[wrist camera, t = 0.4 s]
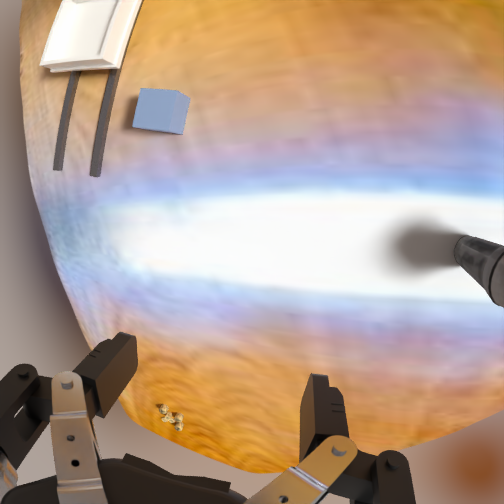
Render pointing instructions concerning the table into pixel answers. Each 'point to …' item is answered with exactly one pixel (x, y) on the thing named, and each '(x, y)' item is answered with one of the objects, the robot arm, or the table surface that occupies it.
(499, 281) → the beverage cup
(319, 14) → the table surface
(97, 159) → the rails
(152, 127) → the block
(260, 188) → the table surface
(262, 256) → the table surface
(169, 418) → the tan lumpy piece
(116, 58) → the white square tray
